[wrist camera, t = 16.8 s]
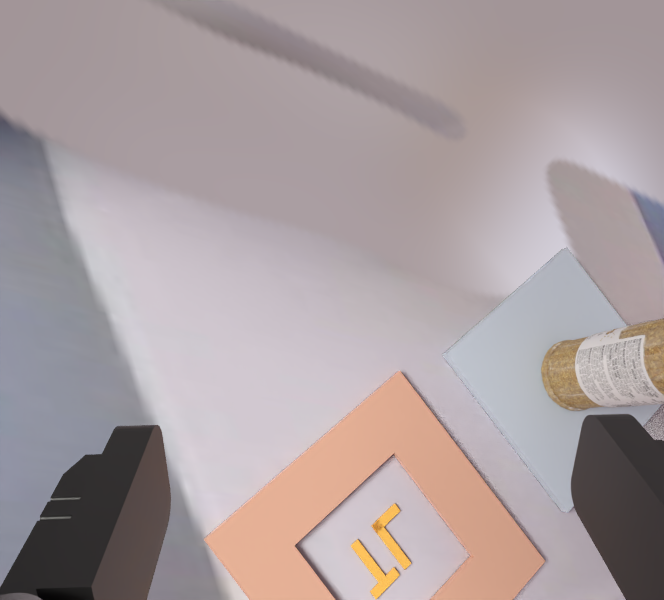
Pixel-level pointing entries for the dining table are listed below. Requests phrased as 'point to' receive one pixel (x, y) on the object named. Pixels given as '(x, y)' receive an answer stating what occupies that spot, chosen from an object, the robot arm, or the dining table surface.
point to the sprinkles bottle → (608, 368)
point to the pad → (537, 367)
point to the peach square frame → (345, 476)
